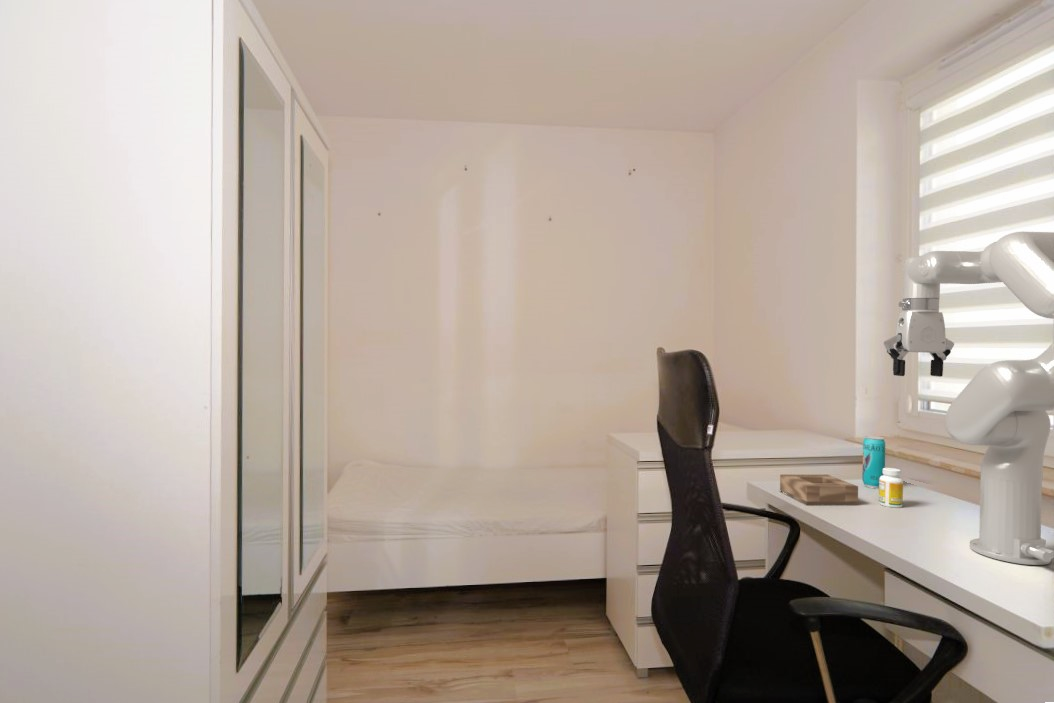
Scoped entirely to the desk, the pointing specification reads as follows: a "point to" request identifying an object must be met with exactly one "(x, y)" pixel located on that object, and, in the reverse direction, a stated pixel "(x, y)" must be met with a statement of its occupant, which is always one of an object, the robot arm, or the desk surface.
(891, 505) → the supplement bottle
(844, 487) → the socket block
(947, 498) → the desk surface
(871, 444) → the beverage can
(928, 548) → the desk surface
